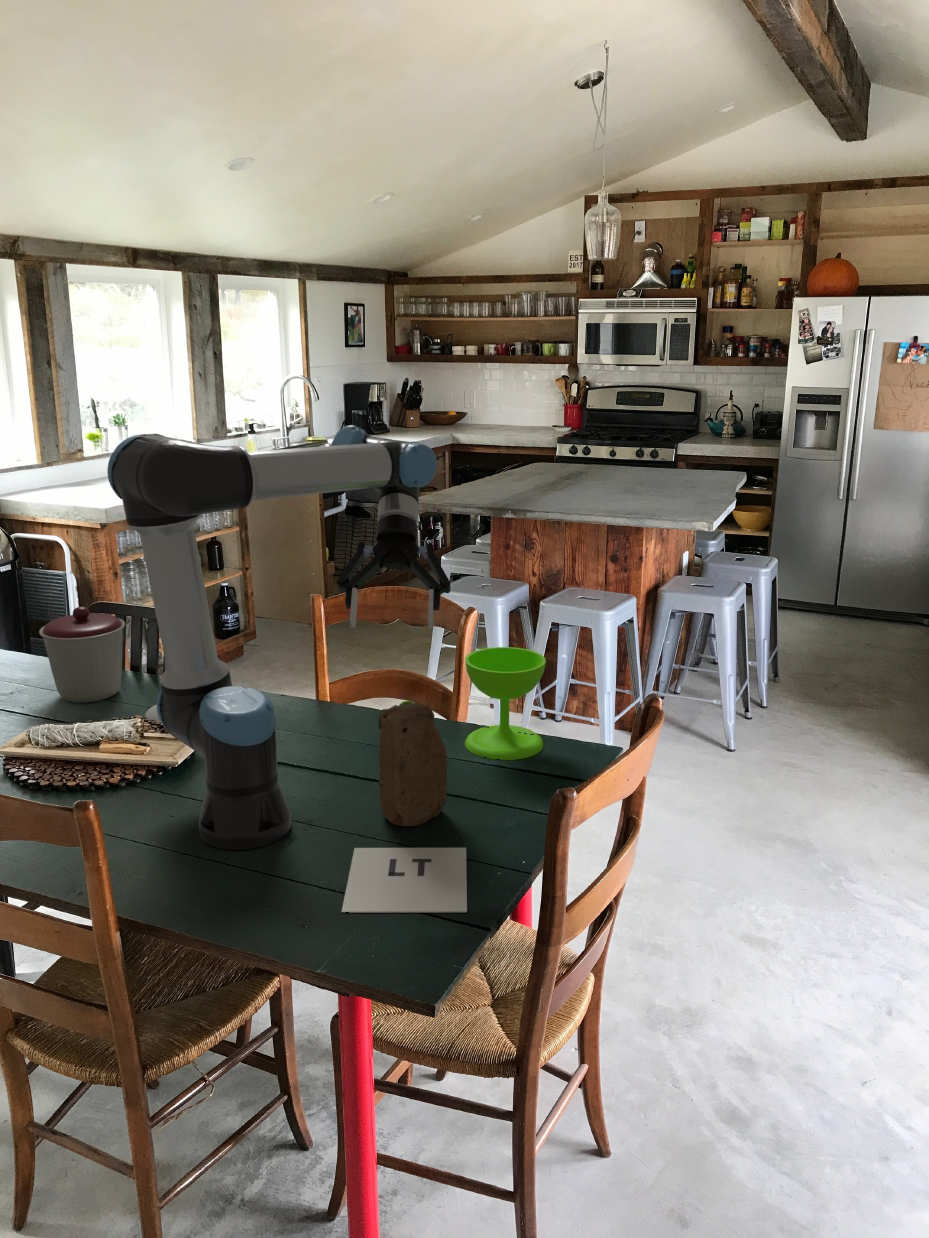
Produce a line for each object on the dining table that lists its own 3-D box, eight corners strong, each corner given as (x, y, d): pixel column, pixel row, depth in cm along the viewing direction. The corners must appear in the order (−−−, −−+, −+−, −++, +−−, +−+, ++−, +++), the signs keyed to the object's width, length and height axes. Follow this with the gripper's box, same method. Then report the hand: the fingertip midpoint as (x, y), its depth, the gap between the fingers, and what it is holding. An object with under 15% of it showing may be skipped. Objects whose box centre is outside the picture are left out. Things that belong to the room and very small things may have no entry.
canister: (140, 680, 233) (132, 596, 227) (119, 708, 216) (109, 617, 210) (63, 682, 232) (52, 597, 226) (36, 710, 214) (23, 619, 209)
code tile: (341, 912, 140) (341, 911, 139) (354, 849, 157) (354, 847, 157) (466, 912, 140) (466, 910, 140) (466, 848, 157) (466, 847, 157)
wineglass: (492, 722, 208) (493, 642, 203) (558, 739, 199) (560, 656, 194) (449, 747, 195) (448, 662, 190) (517, 767, 187) (518, 678, 182)
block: (396, 833, 162) (393, 721, 156) (376, 814, 168) (373, 706, 162) (452, 817, 167) (451, 708, 162) (431, 800, 173) (430, 694, 168)
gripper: (464, 536, 183) (462, 635, 173) (332, 534, 183) (322, 633, 173) (464, 513, 177) (463, 614, 166) (327, 511, 177) (317, 612, 166)
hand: (391, 624), depth 170 cm, fingers open, 13 cm apart
